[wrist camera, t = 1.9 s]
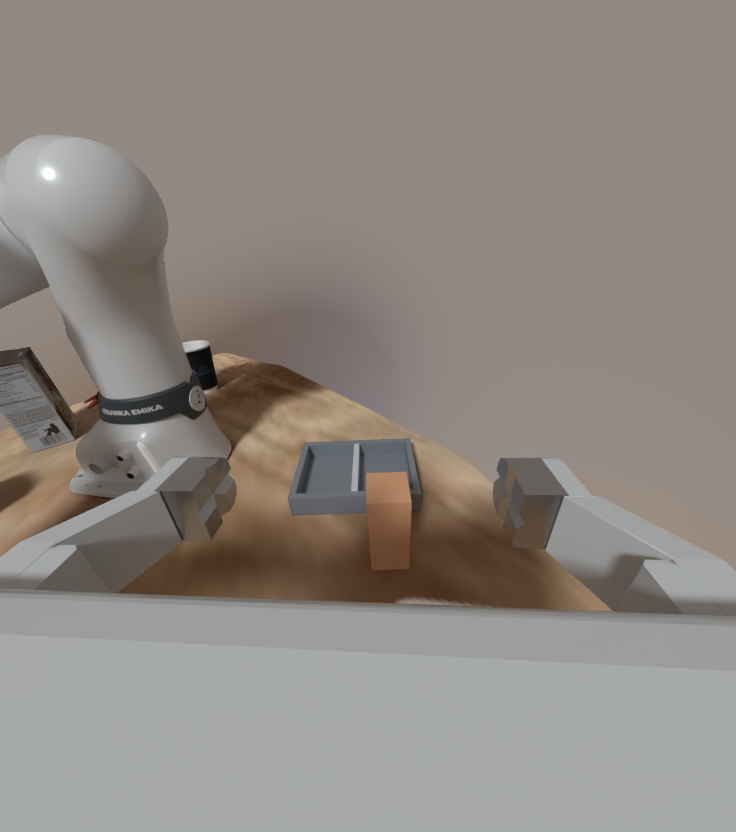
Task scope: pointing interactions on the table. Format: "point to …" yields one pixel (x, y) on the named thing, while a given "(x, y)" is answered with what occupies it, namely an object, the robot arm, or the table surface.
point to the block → (388, 520)
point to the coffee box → (33, 402)
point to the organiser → (347, 474)
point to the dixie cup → (202, 363)
